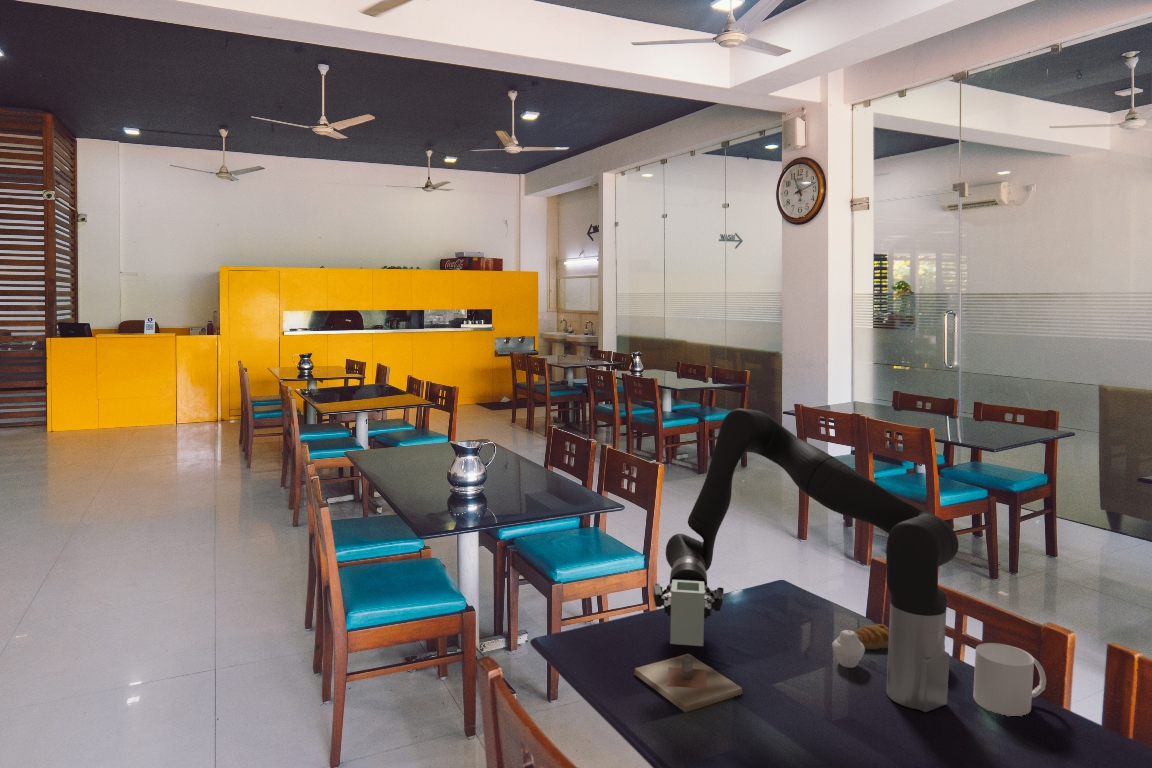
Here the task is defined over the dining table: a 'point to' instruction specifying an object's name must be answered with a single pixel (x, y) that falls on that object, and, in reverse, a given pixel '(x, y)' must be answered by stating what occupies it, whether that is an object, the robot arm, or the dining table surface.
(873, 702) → the dining table surface
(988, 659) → the mug
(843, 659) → the white piece
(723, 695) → the post board
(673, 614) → the sleeve
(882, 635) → the pastry
